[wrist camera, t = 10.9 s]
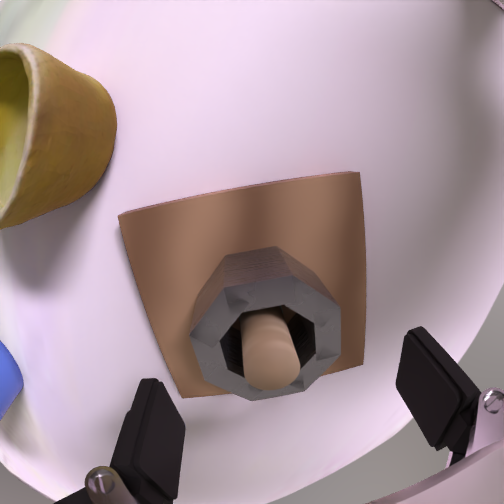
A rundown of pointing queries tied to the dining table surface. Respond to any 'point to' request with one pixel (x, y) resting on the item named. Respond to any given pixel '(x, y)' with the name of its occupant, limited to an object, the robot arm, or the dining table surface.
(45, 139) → the mug
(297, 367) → the post block
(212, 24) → the dining table surface
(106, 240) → the dining table surface
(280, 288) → the collar
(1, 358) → the water bottle
